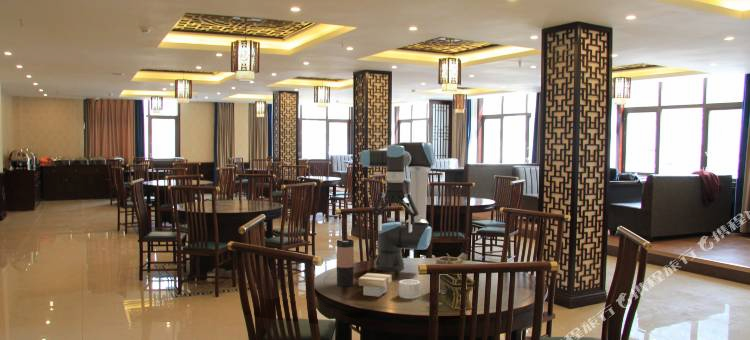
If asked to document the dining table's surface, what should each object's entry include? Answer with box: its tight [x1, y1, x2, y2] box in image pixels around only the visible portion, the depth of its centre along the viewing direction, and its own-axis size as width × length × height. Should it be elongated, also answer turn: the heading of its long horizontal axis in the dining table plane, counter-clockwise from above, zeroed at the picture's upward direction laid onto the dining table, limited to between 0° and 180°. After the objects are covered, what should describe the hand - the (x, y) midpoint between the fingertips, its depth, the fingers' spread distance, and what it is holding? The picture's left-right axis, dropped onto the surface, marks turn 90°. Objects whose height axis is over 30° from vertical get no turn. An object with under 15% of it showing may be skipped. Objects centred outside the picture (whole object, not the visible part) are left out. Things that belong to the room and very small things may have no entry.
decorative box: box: [440, 253, 474, 310], centre depth 222 cm, size 20×10×20 cm, turn 13°
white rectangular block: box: [362, 285, 388, 298], centre depth 238 cm, size 10×7×4 cm
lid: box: [358, 272, 393, 288], centre depth 238 cm, size 11×11×3 cm
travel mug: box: [336, 238, 355, 288], centre depth 251 cm, size 8×8×20 cm
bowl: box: [398, 278, 421, 300], centre depth 233 cm, size 9×9×6 cm
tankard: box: [435, 252, 467, 294], centre depth 244 cm, size 20×13×15 cm, turn 136°
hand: (394, 231), depth 241 cm, fingers open, 13 cm apart
